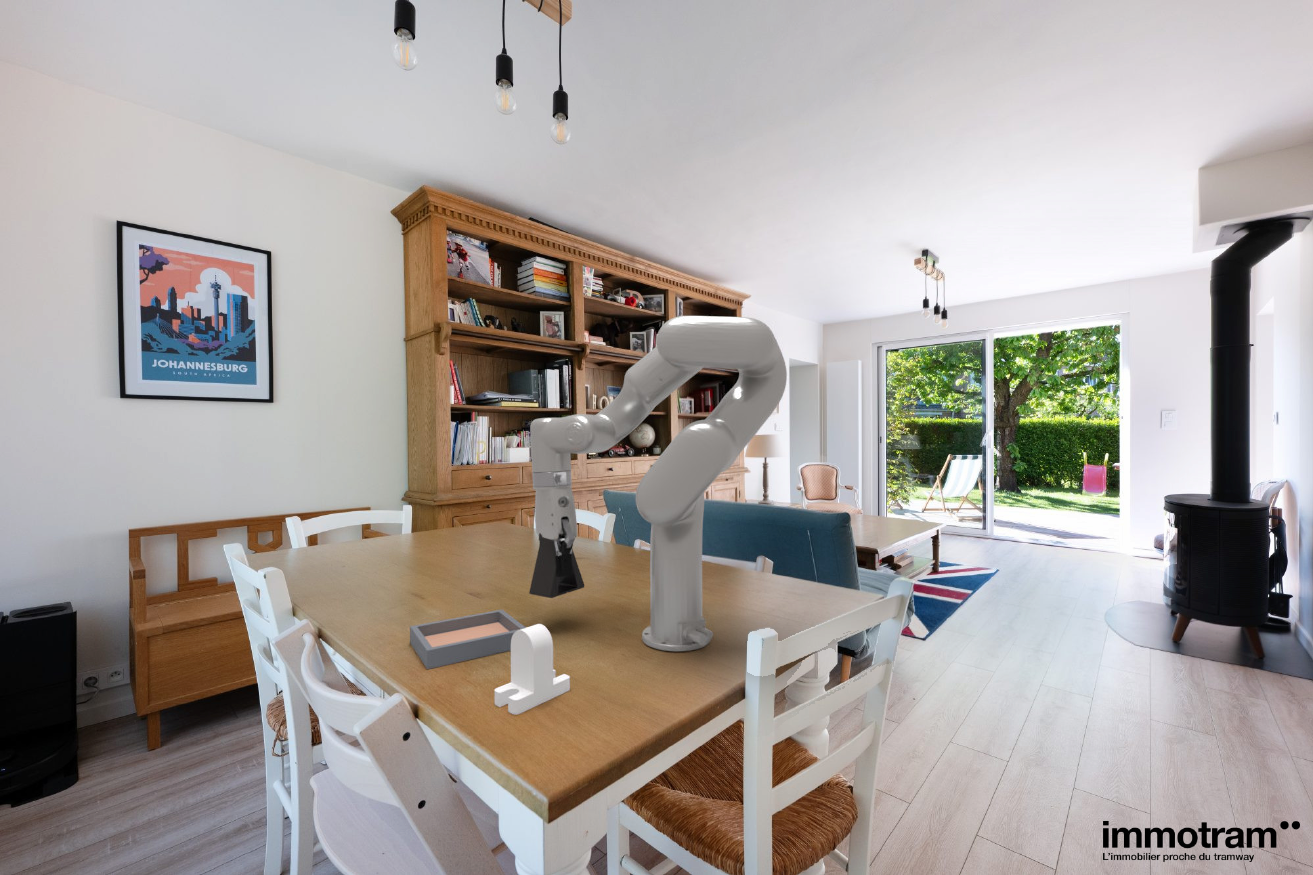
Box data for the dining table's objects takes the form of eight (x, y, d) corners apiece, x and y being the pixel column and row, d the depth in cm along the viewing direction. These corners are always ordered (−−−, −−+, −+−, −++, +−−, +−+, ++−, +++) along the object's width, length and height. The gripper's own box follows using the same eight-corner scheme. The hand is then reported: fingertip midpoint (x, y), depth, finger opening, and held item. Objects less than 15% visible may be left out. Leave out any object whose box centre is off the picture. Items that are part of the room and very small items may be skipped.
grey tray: (528, 646, 98) (528, 629, 98) (427, 669, 88) (427, 650, 88) (502, 624, 109) (502, 609, 109) (410, 642, 100) (410, 626, 100)
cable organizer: (492, 703, 77) (492, 632, 77) (548, 679, 84) (548, 614, 84) (515, 715, 73) (515, 640, 73) (571, 689, 81) (571, 621, 81)
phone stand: (564, 583, 113) (561, 525, 113) (584, 587, 109) (581, 526, 109) (529, 594, 106) (526, 532, 106) (549, 598, 102) (546, 533, 102)
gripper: (589, 480, 103) (594, 576, 103) (552, 478, 117) (556, 563, 117) (552, 483, 99) (557, 584, 98) (518, 481, 113) (522, 569, 113)
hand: (556, 571), depth 108 cm, fingers closed on phone stand, 6 cm apart
